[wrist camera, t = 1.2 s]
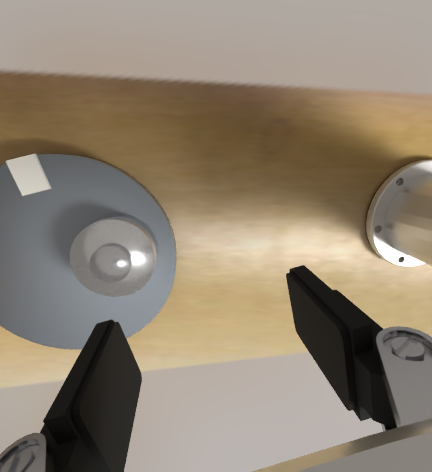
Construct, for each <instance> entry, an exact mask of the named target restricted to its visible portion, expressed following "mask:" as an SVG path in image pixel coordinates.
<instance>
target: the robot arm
mask: <svg viewBox="0 0 432 472" xmlns="http://www.w3.org/2000/svg"><path fill="white" fill-rule="evenodd" d="M366 231H367V236H368V240H369V242H370V245H371V247H372V248H373V250H374V251H375V252H376V253H377V254H378V255H379V256H380V257H381V258H383V259H384V260H386V261H388V262H390V263H392V264H395V265H398V266H407V267H409V266H418V265H421V264H425V263H426V264H428V265H431V266H432V160H420V161H416V162H413V163H410V164H408V165H406V166H404V167H402V168H400V169H399V170H397V171H396V172H394V173H393V174H392V175H391V176H390V177H389V178H388V179H387V180H386V181H384V183H383V184H382V185H381V187H380V188H379V189H378V191H377V192H376V194H375V196H374V198H373V200H372V202H371V204H370V207H369V210H368V215H367V221H366ZM286 278H287V284H288V289H289V295H290V301H291V306H292V312H293V318H294V323H295V328H296V331H297V333H298V335H299V337H300V338H301V340H302V342H303V343H304V345H305V346H306V348H307V349H308V351H309V352H310V354H311V355H312V357H313V358H314V360H315V361H316V363H317V364H318V366H319V368H320V369H321V370H322V372H323V374H324V375H325V377H326V378H327V380H328V381H329V383H330V384H331V386H332V387H333V389H334V390H335V392H336V393H337V395H338V397H339V398H340V400H341V401H342V403H343V404H344V406H345V407H346V408H347V410H349V411H350V410H354V412H355V413H356V415H357V416H358V418H359V419H360V421H362V420H366V419H369V418H372V419H373V420H374V421H376V422H379V423H381V424H382V429H383V432H380V433H377V434H373V435H370V436H367V437H363V438H360V439H357V440H354V441H351V442H347V443H344V444H341V445H337V446H334V447H331V448H328V449H325V450H321V451H318V452H315V453H311V454H308V455H305V456H302V457H299V458H296V459H292V460H289V461H286V462H282V463H279V464H276V465H273V466H270V467H266V468H263V469H260V470H257V471H253V472H432V337H431V336H429V335H428V334H426V333H423V332H421V331H419V330H416V329H412V328H409V327H400V326H398V327H389V328H386V329H383V328H381V327H380V326H379V325H378V324H377V323H376V322H374V321H373V320H372V319H371V318H370V317H368V316H367V315H366V314H365V313H364V312H363V311H361V310H360V309H359V308H358V307H357V306H355V305H354V304H353V303H352V302H351V301H349V300H348V299H347V298H346V297H345V296H344V295H342V294H341V293H340V292H339V291H337V290H332V289H331V288H329V287H328V286H327V285H326V284H325V283H324V282H323V281H321V280H320V279H319V278H318V277H317V276H316V275H314V274H313V273H312V272H311V271H310V270H309V269H308V268H306V267H305V266H304V265H302V266H299V267H295V268H292V269H290V273H287V274H286ZM141 381H142V377H141V372H140V369H139V367H138V365H137V362H136V360H135V358H134V356H133V353H132V351H131V349H130V346H129V344H128V342H127V339H126V337H125V335H124V333H123V330H122V328H121V326H120V324H119V322H114V320H112V319H111V320H107V321H104V322H100V323H97V324H96V325H95V327H94V329H93V331H92V333H91V335H90V336H89V338H88V340H87V342H86V344H85V346H84V347H83V349H82V351H81V353H80V355H79V356H78V358H77V360H76V362H75V364H74V366H73V367H72V369H71V371H70V373H69V375H68V377H67V378H66V380H65V382H64V384H63V386H62V388H61V389H60V391H59V393H58V395H57V397H56V399H55V401H54V402H53V404H52V406H51V408H50V410H49V411H48V413H47V415H46V417H45V419H44V421H43V422H44V426H43V428H42V430H41V432H40V433H32V434H29V435H26V436H24V437H22V438H21V439H19V440H17V441H16V442H14V443H13V444H12V445H10V446H9V447H8V448H7V449H5V450H4V451H3V452H2V453H1V454H0V472H124V467H125V463H126V457H127V452H128V447H129V442H130V437H131V432H132V427H133V422H134V417H135V412H136V407H137V402H138V397H139V392H140V386H141Z"/></svg>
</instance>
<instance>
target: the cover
mask: <svg viewBox="0 0 432 472" xmlns="http://www.w3.org/2000/svg"><path fill="white" fill-rule="evenodd" d="M157 257H158V243H157V239H156V237H155V235H154V233H153V231H152V230H151V229H150V227H149V226H148V225H147V224H145V223H144V222H143V221H141V220H140V219H138V218H136V217H134V216H130V215H126V214H111V215H107V216H104V217H102V218H100V219H98V220H97V221H95V222H94V223H92V224H91V225H89V226H88V227H86V228H85V229H83V230H82V231H81V232H80V233H79V234H78V235H77V236H76V238H75V239H74V241H73V243H72V246H71V249H70V264H71V268H72V270H73V272H74V274H75V276H76V278H77V279H78V280H79V281H80V282H81V283H82V284H83V285H84V286H85V287H86V288H88V289H89V290H91V291H93V292H95V293H97V294H100V295H103V296H108V297H122V296H127V295H130V294H133V293H135V292H137V291H138V290H140V289H141V288H142V287H144V286H145V285H146V283H147V282H148V281H149V280H150V278H151V276H152V274H153V271H154V268H155V264H156V261H157Z"/></svg>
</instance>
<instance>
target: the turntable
mask: <svg viewBox="0 0 432 472" xmlns="http://www.w3.org/2000/svg"><path fill="white" fill-rule="evenodd" d="M111 214H126V215H130V216H134V217H136V218H138V219H140V220H141V221H143V222H144V223H145V224H147V225H148V226H149V227H150V229H151V230H152V231H153V233H154V235H155V237H156V239H157V243H158V257H157V261H156V264H155V268H154V271H153V274H152V276H151V278H150V280H149V281H148V282H147V283H146V285H145V286H144V287H142V288H141V289H140V290H138V291H137V292H135V293H133V294H130V295H127V296H122V297H108V296H103V295H100V294H97V293H95V292H93V291H91V290H89V289H88V288H86V287H85V286H84V285H83V284H82V283H81V282H80V281H79V280H78V279H77V278H76V276H75V274H74V272H73V270H72V268H71V264H70V249H71V246H72V243H73V241H74V239H75V238H76V236H77V235H78V234H79V233H80V232H81V231H82V230H83V229H85V228H86V227H88V226H89V225H91V224H92V223H94V222H95V221H97V220H98V219H100V218H102V217H104V216H107V215H111ZM175 270H176V243H175V238H174V234H173V230H172V228H171V225H170V222H169V220H168V218H167V216H166V214H165V212H164V210H163V209H162V207H161V206H160V204H159V203H158V202H157V200H156V199H155V197H154V196H153V195H152V194H151V193H150V192H149V191H148V190H147V189H146V188H145V187H144V186H143V185H142V184H141V183H139V182H138V181H137V180H136V179H135V178H133V177H132V176H130V175H128V174H127V173H125V172H124V171H122V170H120V169H118V168H116V167H114V166H112V165H110V164H108V163H105V162H102V161H99V160H96V159H93V158H88V157H83V156H77V155H65V154H38V155H36V154H31V155H27V156H23V157H19V158H15V159H11V160H7V161H6V163H4V164H2V165H0V326H2V327H3V328H5V329H6V330H8V331H10V332H12V333H14V334H15V335H17V336H19V337H22V338H24V339H26V340H29V341H31V342H34V343H38V344H41V345H44V346H49V347H55V348H62V349H83V347H84V346H85V344H86V342H87V340H88V338H89V336H90V335H91V333H92V331H93V329H94V327H95V325H96V324H97V323H100V322H104V321H107V320H111V319H112V320H114V322H119V324H120V326H121V328H122V330H123V333H124V335H125V337H126V338H128V337H130V336H132V335H133V334H135V333H136V332H138V331H140V330H141V329H142V328H144V327H145V326H146V325H147V324H148V323H150V322H151V320H152V319H153V318H154V317H155V316H156V315H157V314H158V313H159V311H160V310H161V308H162V307H163V306H164V304H165V302H166V300H167V298H168V296H169V294H170V291H171V288H172V285H173V282H174V276H175Z"/></svg>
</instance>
